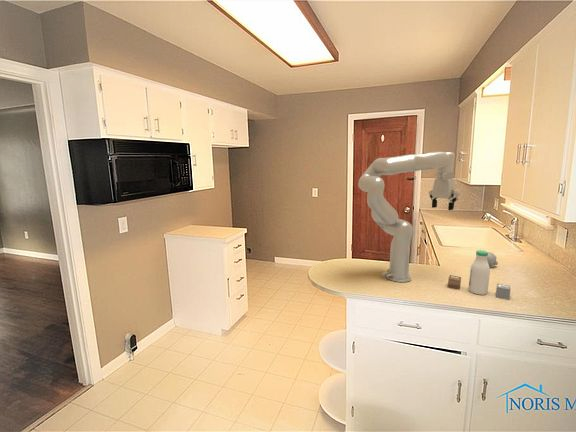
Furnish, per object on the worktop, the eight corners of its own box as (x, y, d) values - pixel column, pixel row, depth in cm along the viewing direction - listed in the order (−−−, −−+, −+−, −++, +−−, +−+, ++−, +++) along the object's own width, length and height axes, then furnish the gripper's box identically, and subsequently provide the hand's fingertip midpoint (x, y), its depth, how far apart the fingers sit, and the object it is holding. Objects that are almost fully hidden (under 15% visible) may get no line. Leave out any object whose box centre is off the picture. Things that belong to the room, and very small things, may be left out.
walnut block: (459, 290, 145) (460, 280, 144) (447, 287, 148) (448, 277, 147) (460, 286, 149) (461, 276, 148) (449, 284, 152) (449, 274, 151)
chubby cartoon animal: (474, 270, 177) (471, 258, 174) (488, 260, 180) (486, 248, 177) (486, 274, 170) (483, 261, 168) (500, 264, 173) (498, 251, 170)
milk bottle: (491, 293, 140) (496, 253, 136) (478, 296, 138) (483, 254, 134) (476, 287, 147) (481, 248, 144) (464, 289, 145) (468, 249, 141)
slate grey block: (509, 300, 134) (510, 289, 133) (495, 297, 137) (497, 286, 136) (508, 295, 138) (510, 285, 137) (495, 293, 141) (497, 283, 140)
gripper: (425, 175, 162) (423, 207, 165) (455, 177, 147) (452, 211, 150) (435, 175, 165) (432, 205, 168) (465, 176, 150) (462, 210, 153)
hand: (442, 208), depth 159 cm, fingers open, 9 cm apart
